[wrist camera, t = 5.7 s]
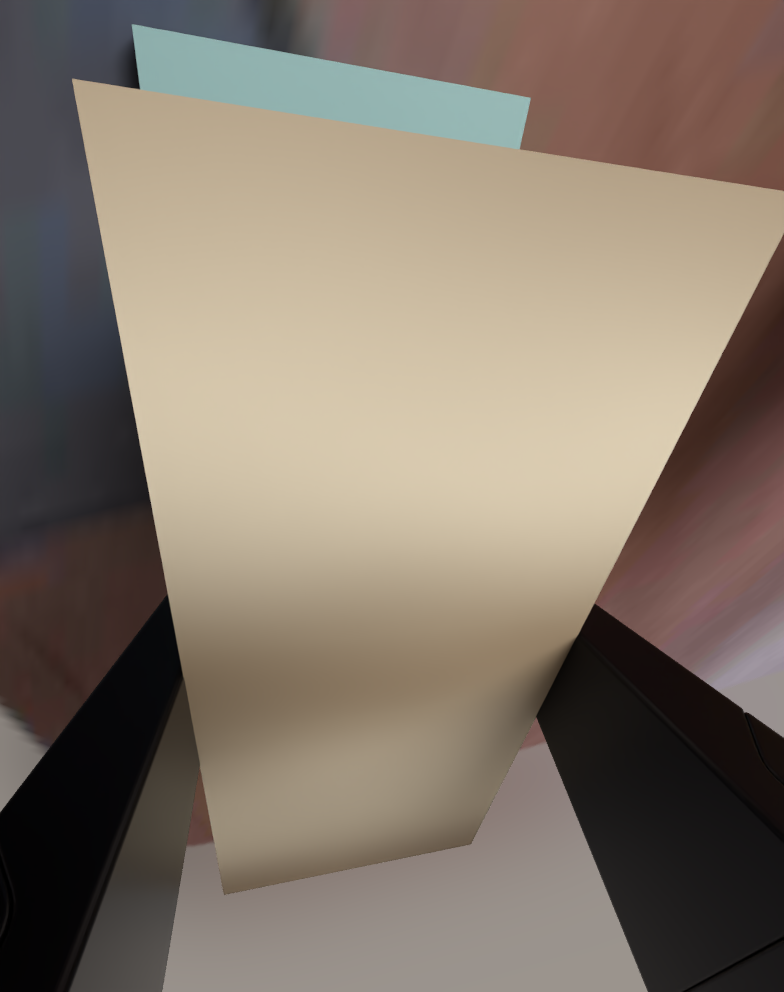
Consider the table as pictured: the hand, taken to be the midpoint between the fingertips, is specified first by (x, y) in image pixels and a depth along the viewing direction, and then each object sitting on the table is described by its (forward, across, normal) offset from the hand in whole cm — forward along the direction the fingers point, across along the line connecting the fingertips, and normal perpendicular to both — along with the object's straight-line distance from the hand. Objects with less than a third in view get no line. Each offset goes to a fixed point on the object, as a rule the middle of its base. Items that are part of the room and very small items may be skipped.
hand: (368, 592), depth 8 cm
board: (+1, 0, 0) cm, 1 cm away
